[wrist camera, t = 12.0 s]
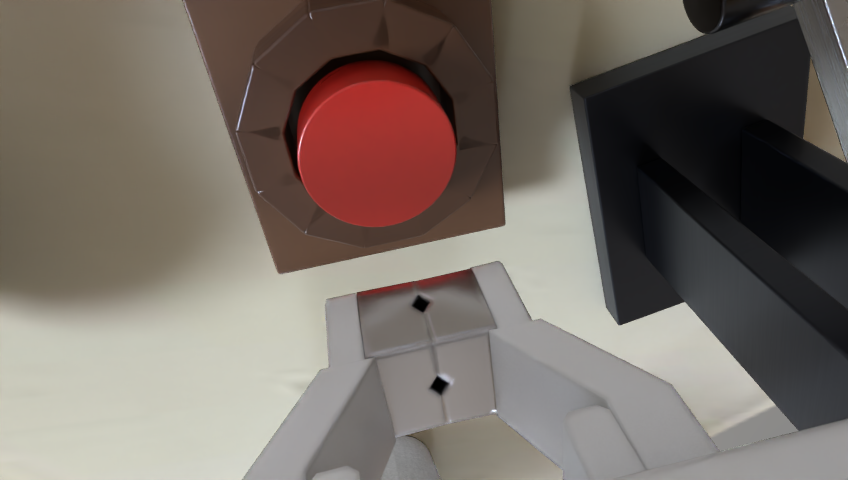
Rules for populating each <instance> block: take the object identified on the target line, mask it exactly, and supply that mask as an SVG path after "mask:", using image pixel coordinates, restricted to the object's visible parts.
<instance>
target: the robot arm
mask: <svg viewBox="0 0 848 480" xmlns="http://www.w3.org/2000/svg"><path fill="white" fill-rule="evenodd" d="M325 312H326V328H327V345H328V361H329V368H326V369H321V370H320V371H319V372H318V373H317V375H316V376H315V378H314V379H313V380H312V382H311V383H310V385H309V386H308V387H307V389H306V390H305V392H304V393H303V395H302V396H301V397H300V399H299V400H298V402H297V403H296V404H295V406H294V407H293V409H292V410H291V411H290V413H289V414H288V416H287V417H286V418H285V420H284V421H283V423H282V424H281V425H280V427H279V428H278V430H277V431H276V433H275V434H274V435H273V437H272V438H271V440H270V441H269V442H268V444H267V445H266V447H265V448H264V449H263V451H262V452H261V454H260V455H259V456H258V458H257V459H256V461H255V462H254V463H253V465H252V466H251V468H250V469H249V471H248V472H247V473H246V475H245V476H244V478H243V479H242V480H381V477H382V475H383V472H384V470H385V467H386V465H387V463H388V460H389V458H390V455H391V453H392V450H393V448H394V445H395V443H396V438H397V437H401V436H405V435H408V434H412V433H416V432H419V431H423V430H427V429H430V428H434V427H438V426H442V425H445V424H450V423H455V422H459V421H464V420H469V419H473V418H478V417H482V416H487V415H492V414H496V413H497V416H498V417H499V418H500V419H502V420H503V421H504V422H505V423H506V424H508V425H509V426H510V427H511V428H512V429H514V430H515V431H516V432H517V433H518V434H520V435H521V436H522V437H523V438H524V439H526V440H527V441H528V442H529V443H530V444H532V445H533V446H534V447H535V448H536V449H538V450H539V451H540V452H541V453H542V454H544V455H545V456H546V457H547V458H548V459H550V460H551V461H552V462H553V463H554V464H556V465H557V466H558V467H559V468H560V469H562V470H563V480H848V419H844V420H840V421H836V422H832V423H828V424H824V425H820V426H817V427H813V428H809V429H805V430H801V431H797V432H793V433H789V434H785V435H781V436H778V437H774V438H769V439H766V440H762V441H758V442H754V443H750V444H746V445H742V446H739V447H734V448H731V449H726V450H723V451H719V449H718V448H717V446H716V445H715V444H714V442H713V441H712V439H711V438H710V437H709V435H708V434H707V433H706V431H705V430H704V428H703V427H702V426H701V424H700V423H699V422H698V420H697V419H696V417H695V416H694V415H693V413H692V412H691V410H690V409H689V408H688V406H687V405H686V404H685V402H684V401H683V399H682V398H681V397H680V395H679V394H678V393H677V391H676V390H675V388H674V387H673V386H672V384H670V383H668V382H666V381H664V380H662V379H660V378H658V377H656V376H654V375H652V374H650V373H648V372H646V371H644V370H642V369H640V368H638V367H636V366H634V365H632V364H630V363H628V362H626V361H624V360H622V359H620V358H618V357H616V356H614V355H612V354H610V353H608V352H606V351H604V350H602V349H600V348H598V347H596V346H594V345H592V344H590V343H588V342H586V341H584V340H582V339H580V338H578V337H576V336H574V335H572V334H570V333H568V332H566V331H564V330H562V329H560V328H558V327H556V326H554V325H552V324H550V323H548V322H546V321H544V320H542V319H538V320H533V321H532V319H531V317H530V315H529V313H528V311H527V309H526V308H525V306H524V304H523V302H522V300H521V298H520V296H519V294H518V292H517V291H516V289H515V287H514V285H513V283H512V281H511V279H510V277H509V275H508V273H507V272H506V270H505V268H504V266H503V264H502V263H501V262H499V261H495V262H491V263H488V264H484V265H480V266H476V267H472V268H470V269H467V270H463V271H458V272H454V273H450V274H445V275H441V276H436V277H432V278H428V279H423V280H419V281H412V282H407V283H402V284H397V285H392V286H387V287H382V288H377V289H372V290H367V291H362V292H357V294H355V293H353V294H349V295H344V296H339V297H334V298H330V299H327V300H326V304H325Z"/></svg>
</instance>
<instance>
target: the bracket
mask: <svg viewBox="0 0 848 480" xmlns="http://www.w3.org/2000/svg"><path fill="white" fill-rule="evenodd" d="M809 68H810V53H809V51H808V48H807V45H806V42H805V39H804V36H803V33H802V30H801V27H800V24H799V21H798V18H797V15H796V12H795V9H794V6H790V5H789V6H786V7H783V8H781V9H778V10H775V11H773V12H770V13H767V14H765V15H762V16H759V17H757V18H754V19H751V20H748V21H746V22H743V23H740V24H738V25H735V26H732V27H730V28H727V29H724V30H722V31H719V32H716V33H713V34H708V35H705V36H702V37H699V38H697V39H694V40H691V41H689V42H686V43H683V44H681V45H678V46H675V47H673V48H670V49H667V50H665V51H662V52H659V53H657V54H654V55H651V56H649V57H646V58H643V59H641V60H638V61H635V62H633V63H630V64H627V65H624V66H622V67H619V68H616V69H614V70H611V71H608V72H606V73H603V74H600V75H598V76H595V77H592V78H590V79H587V80H584V81H582V82H579V83H576V84H574V85H571V86H570V93H571V99H572V105H573V111H574V117H575V123H576V129H577V135H578V141H579V147H580V153H581V159H582V165H583V171H584V177H585V183H586V189H587V195H588V201H589V207H590V213H591V219H592V225H593V231H594V237H595V243H596V249H597V255H598V261H599V267H600V273H601V279H602V285H603V291H604V297H605V303H606V308H607V309H608V311H609V312H610V314H611V315H612V316H613V318H614V319H615V321H616V322H617V324H618V325H622V324H625V323H628V322H631V321H633V320H636V319H639V318H642V317H644V316H647V315H650V314H653V313H655V312H658V311H661V310H664V309H666V308H669V307H672V306H675V305H678V304H680V303H683V302H686V303H687V304H688V306H689V307H690V308H691V309H692V310H693V311H694V312H695V314H696V315H697V316H698V317H699V318H700V319H701V320H702V322H703V323H704V324H705V325H706V326H707V327H708V328H709V329H710V331H711V332H712V333H713V334H714V335H715V336H716V337H717V339H718V340H719V341H720V342H721V343H722V344H723V345H724V346H725V348H726V349H727V350H728V351H729V352H730V353H731V354H732V356H733V357H734V358H735V359H736V360H737V361H738V362H739V364H740V365H741V366H742V367H743V368H744V369H745V370H746V371H747V373H748V374H749V375H750V376H751V377H752V378H753V379H754V381H755V382H756V383H757V384H758V385H759V386H760V387H761V389H762V390H763V391H764V392H765V393H766V394H767V395H768V396H769V398H770V399H771V400H772V401H773V402H774V403H775V404H776V406H777V407H778V408H779V409H780V410H781V411H782V412H783V413H784V415H785V416H786V417H787V418H788V419H789V420H790V421H791V423H792V424H793V425H794V426H795V427H796V428H797V429H798V430H799V431H801V430H805V429H809V428H813V427H817V426H820V425H824V424H828V423H832V422H836V421H840V420H844V419H848V165H847V163H846V162H844V161H842V160H841V159H839V158H837V157H835V156H833V155H831V154H830V153H828V152H826V151H824V150H822V149H821V148H819V147H817V146H815V145H813V144H811V143H810V142H808V141H806V140H804V139H803V136H804V124H805V113H806V102H807V90H808V79H809Z"/></svg>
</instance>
